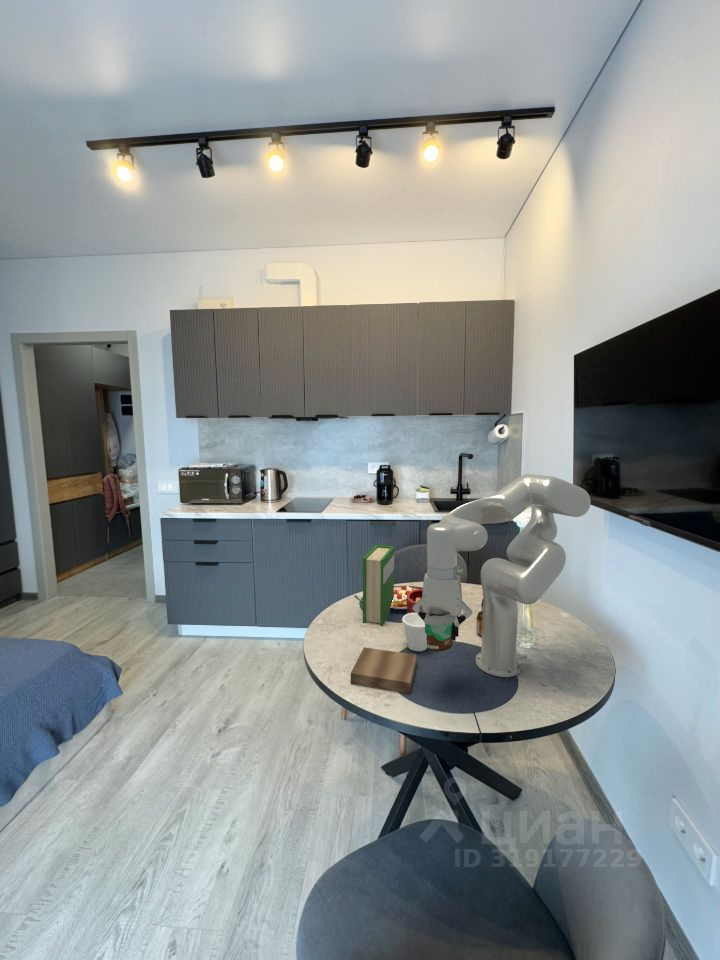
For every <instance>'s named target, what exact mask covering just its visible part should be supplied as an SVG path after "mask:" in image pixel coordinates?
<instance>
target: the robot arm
mask: <svg viewBox="0 0 720 960" xmlns="http://www.w3.org/2000/svg"><path fill="white" fill-rule="evenodd" d="M591 504H592V503H591V497H590V495H589V493H588V492H587V490H585V489H584V488H582V487H581V486H578V485H575V484H573V483H571V482H569V481H567V480H564V479H561V478H559V477H556V476H550V475H541V474H533V473H532V474H529V473H526V474H522V475H521V476H519V477H517V478H516V479H514V480H513V481H511V482H509V483H508V484H506V485H505V486H503V488H501V489H499V490H498V491H496V492H495V493H493V494H492V495H489V496H486V497H482V498H479V499H476V500H472V501H469V502H466V503H463V504H462V505H459V506H458V507H456V508H455V509H453V510H451V511H450V512H448V513H447V514H446V515H444V516H443V517H442V518H441V520H440V521H439V522H436V523H431V524H430V525H429V526H428V527H427V531H426V552H427V553H426V556H427V557H426V558H427V559H426V561H427V562H426V569H427V570H426V572H425V573H424V576H423V584H422V589H423V592H422V598H421V599H420V598H419V600H417V601H416V603H415V604H414V605H413V608H412V609H413V610H414V611H415V612H416V613H417V614H418V615H419V617H420V618H421V619H422V620H423V621H424V623H425V617H426V615H427V616H429V615H430V614H436V615H448V614H451V616H454V618H455V621H453V622H454V625H453V642H456V639H457V637H459V627H460V626H461V624H462V623H464V622H465V621H466V619H468V618H470V617H471V616H472V615H473V610H472V609H471V608H470V607H469V606H468V605H467V603H465V602H464V601H463V594H462V593H463V592H462V582H461V576H460V574H463V567H459V566H458V564H457V563H458V552H475V551H479V550H480V549H482V548H483V547H484V546H486V543H487V542H488V538H489V536H488V531H487V529H486V528H485V527H484V526H483V525H485V524H500V523H501V524H502V523H507V522H511V521H512V520H514V519H515V518H517V517H518V516H520V514H521V513H523V512H524V511H526V510H527V509H529V508H530V507H531V509H532V510H530V511H531V514H530V519H529V520H528V522H527V524H526V525H525V526H524V527H523V528H522V529H521V530H520V531H519V533H518V534H517V535H516V536H515V537H514V538H513V539H512V541H511V542H510V543H509V545H508V546H507V549H506V557H507V558H508V559H504V558H500V557H492V558H490V559H487V560H486V561H485V562H484V563H483V564H482V567H481V569H480V584H481V589H482V596H483V597H482V598H483V599H482V600H483V602H482V622H481V623H482V627H481V628H482V630H481V631H482V633H481V651H480V652H479V653H477V654H476V656H475V664H476V666H477V667H478V668H479V669H480V670H481V671H483V672H485V673H486V674H488V675H491V676H494V677H499V678H511V677H516V676H517V675H519V674H520V673H521V671H522V666H527V667H534V659H533V658H529V657H528V655H527V654H520V653H518V650H517V639H518V638H517V637H518V618H519V607H518V603H521V604H522V605H523V604H524V605H532V604H535V603H536V602H537V601H538V600H540V598H542V597H543V595H544V594H545V593H546V592H547V590H548V589H549V588H550V587H551V585H552V584H553V583H554V582H555V581H556V580H557V578H558V577H559V576H560V575H561V573H562V572H563V570H564V568H565V564H566V561H567V557H566V556H567V554H566V551H565V549H564V547H563V546H562V545H561V544H560V543H558V542H555V541H554V540H555V539H556V537H557V535H558V527H557V524H556V520H555V515H554V514H556V515H562V516H566V517H572V518H579V517H583V516H584V515H586V514H587V513H588V512H589V510H590V507H591ZM421 605H422V610H421V609H420V606H421ZM462 611H463V613H462ZM425 633H426V624H425Z"/></svg>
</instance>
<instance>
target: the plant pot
mask: <svg viewBox="0 0 720 960" xmlns="http://www.w3.org/2000/svg"><path fill="white" fill-rule="evenodd" d="M422 592H423V588H420V589H418V588H417V589H414V590H412V591H409V592H408V593H407V596H406V611H407V614H409V613H416V612H415V611H414V610H413V609H412V608H413V605H414V604H415V603H416V602H417V601H416V599H418V598H419V600H420V599H421V598H422ZM420 609H421V610H422V605H421V606H420Z"/></svg>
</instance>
